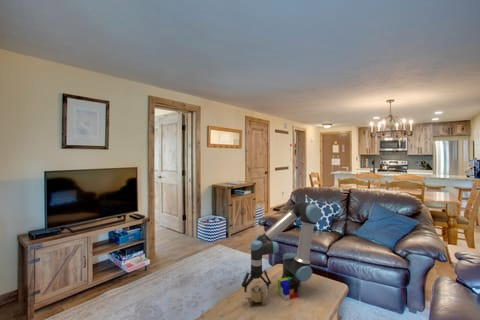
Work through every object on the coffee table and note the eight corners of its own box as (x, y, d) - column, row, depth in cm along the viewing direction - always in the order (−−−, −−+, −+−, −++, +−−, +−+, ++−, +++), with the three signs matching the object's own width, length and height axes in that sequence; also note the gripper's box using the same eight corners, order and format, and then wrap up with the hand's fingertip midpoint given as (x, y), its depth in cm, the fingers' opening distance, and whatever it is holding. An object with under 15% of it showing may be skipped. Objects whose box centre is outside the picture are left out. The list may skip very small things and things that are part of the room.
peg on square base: (247, 298, 172) (247, 282, 172) (261, 297, 174) (261, 280, 174) (251, 307, 163) (251, 290, 162) (265, 305, 164) (265, 288, 164)
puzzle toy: (285, 300, 171) (285, 286, 170) (277, 292, 180) (277, 279, 180) (297, 297, 174) (297, 283, 174) (289, 289, 184) (289, 276, 183)
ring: (249, 295, 171) (249, 287, 171) (260, 294, 173) (260, 285, 173) (252, 302, 164) (252, 293, 163) (264, 301, 165) (264, 292, 165)
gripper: (239, 268, 162) (239, 300, 162) (275, 265, 166) (275, 296, 167) (237, 263, 169) (237, 294, 170) (272, 260, 174) (272, 290, 174)
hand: (256, 295), depth 168 cm, fingers open, 13 cm apart
